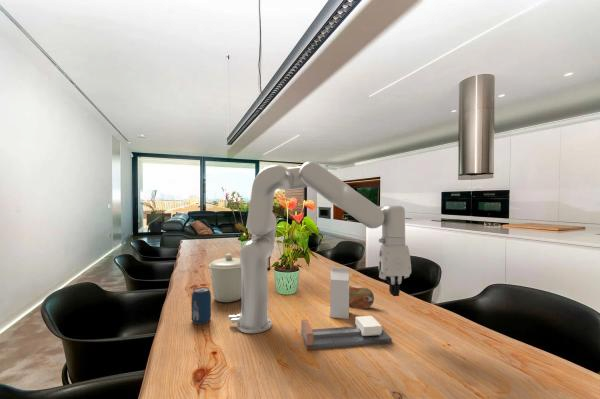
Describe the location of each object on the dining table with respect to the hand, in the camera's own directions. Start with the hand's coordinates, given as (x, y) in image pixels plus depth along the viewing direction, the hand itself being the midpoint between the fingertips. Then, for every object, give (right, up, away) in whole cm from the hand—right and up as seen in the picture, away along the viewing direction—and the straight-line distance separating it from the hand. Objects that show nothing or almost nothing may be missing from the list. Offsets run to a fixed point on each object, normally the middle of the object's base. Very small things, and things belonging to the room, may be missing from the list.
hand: (394, 294), depth 95 cm
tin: (-8, -14, +26) cm, 31 cm away
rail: (-17, -14, -3) cm, 22 cm away
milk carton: (-16, -14, +17) cm, 27 cm away
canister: (-66, -14, +34) cm, 75 cm away
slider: (-9, -12, -1) cm, 15 cm away
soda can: (-70, -14, +10) cm, 72 cm away
